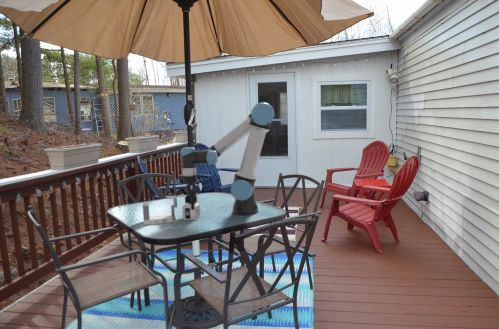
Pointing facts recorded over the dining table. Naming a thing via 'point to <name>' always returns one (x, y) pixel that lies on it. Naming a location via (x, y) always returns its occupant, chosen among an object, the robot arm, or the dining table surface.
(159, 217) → the gauge base
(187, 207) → the container
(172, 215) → the gauge plate
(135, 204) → the dining table surface
